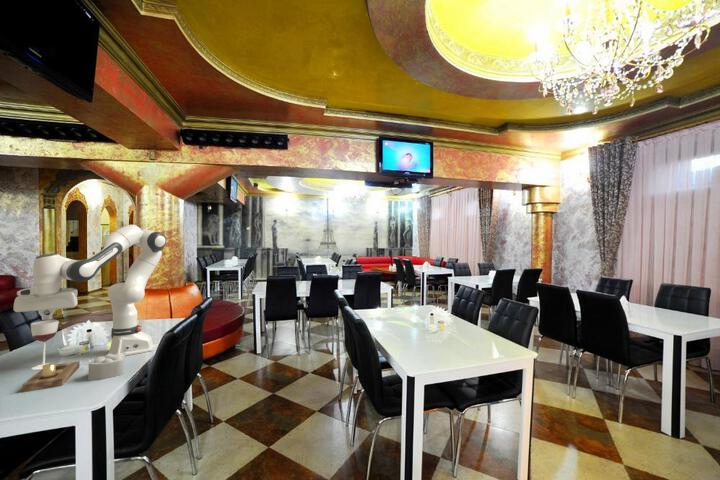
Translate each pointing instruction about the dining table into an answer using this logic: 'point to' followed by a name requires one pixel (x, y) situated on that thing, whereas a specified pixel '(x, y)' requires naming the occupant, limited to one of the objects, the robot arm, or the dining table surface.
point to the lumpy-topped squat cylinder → (106, 367)
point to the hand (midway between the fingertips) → (47, 319)
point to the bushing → (49, 371)
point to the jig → (62, 376)
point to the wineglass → (43, 335)
